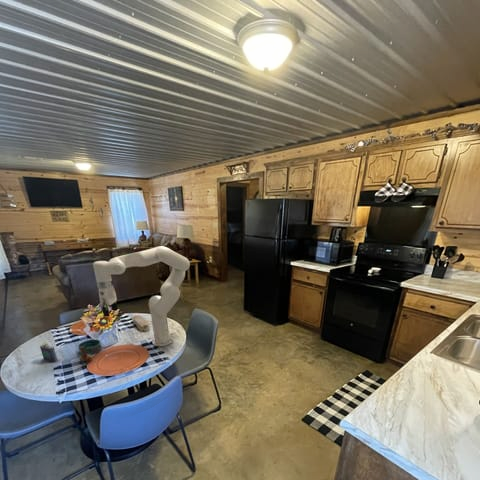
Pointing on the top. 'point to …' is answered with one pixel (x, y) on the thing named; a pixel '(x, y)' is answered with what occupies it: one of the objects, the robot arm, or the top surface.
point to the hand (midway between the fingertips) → (110, 313)
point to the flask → (48, 353)
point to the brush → (84, 356)
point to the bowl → (91, 346)
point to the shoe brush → (141, 323)
